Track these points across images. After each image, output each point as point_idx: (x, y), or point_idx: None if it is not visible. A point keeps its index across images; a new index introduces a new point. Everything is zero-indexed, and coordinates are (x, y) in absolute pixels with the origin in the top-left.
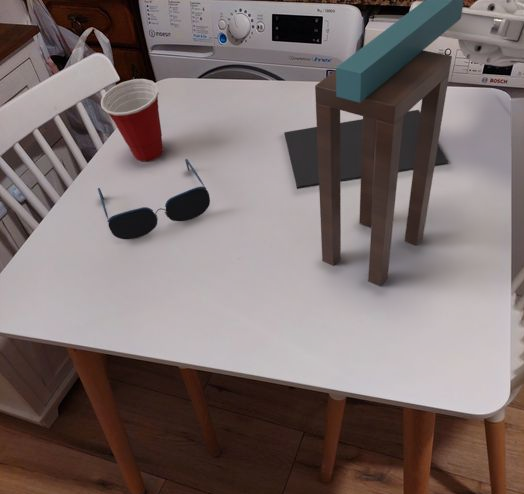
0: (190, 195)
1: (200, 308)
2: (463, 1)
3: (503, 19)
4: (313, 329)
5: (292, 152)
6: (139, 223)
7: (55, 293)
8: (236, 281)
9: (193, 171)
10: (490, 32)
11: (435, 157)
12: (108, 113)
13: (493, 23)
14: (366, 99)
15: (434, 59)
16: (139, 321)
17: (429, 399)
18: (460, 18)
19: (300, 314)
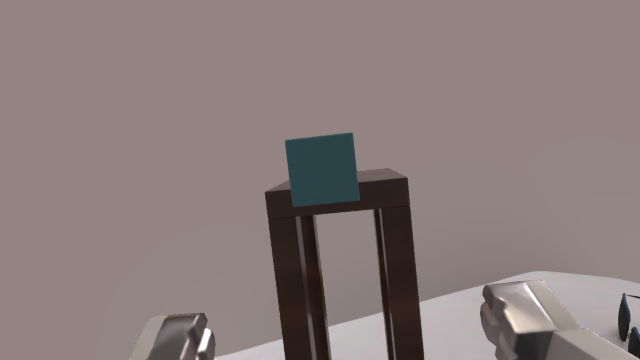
0: (637, 345)
1: (452, 324)
2: (288, 165)
3: (163, 316)
4: (349, 352)
5: None
6: (622, 321)
7: (561, 287)
8: (460, 350)
9: None
10: (214, 348)
11: (285, 357)
12: None
13: (205, 321)
14: None
15: (286, 187)
16: (476, 302)
17: (230, 355)
18: (292, 204)
19: (371, 355)
